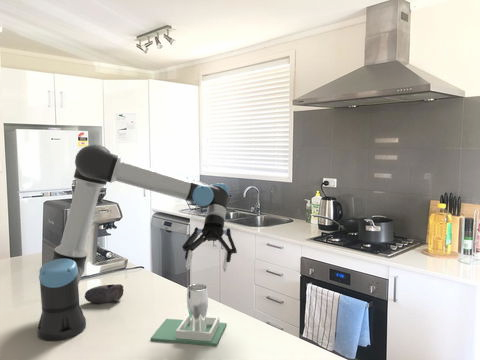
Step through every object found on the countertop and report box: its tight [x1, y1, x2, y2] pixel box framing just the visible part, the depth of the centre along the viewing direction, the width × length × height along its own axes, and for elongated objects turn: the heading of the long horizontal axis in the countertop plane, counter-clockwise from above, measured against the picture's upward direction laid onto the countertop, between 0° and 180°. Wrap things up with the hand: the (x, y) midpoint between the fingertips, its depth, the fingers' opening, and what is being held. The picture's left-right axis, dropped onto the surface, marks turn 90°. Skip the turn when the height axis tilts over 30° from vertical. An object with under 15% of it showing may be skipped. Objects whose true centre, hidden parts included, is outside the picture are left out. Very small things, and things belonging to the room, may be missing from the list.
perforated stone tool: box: [84, 283, 124, 304], centre depth 158 cm, size 15×5×7 cm, turn 94°
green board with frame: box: [150, 314, 227, 347], centre depth 132 cm, size 22×14×3 cm, turn 79°
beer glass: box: [186, 283, 209, 332], centre depth 131 cm, size 7×7×15 cm
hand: (205, 269), depth 140 cm, fingers open, 13 cm apart
